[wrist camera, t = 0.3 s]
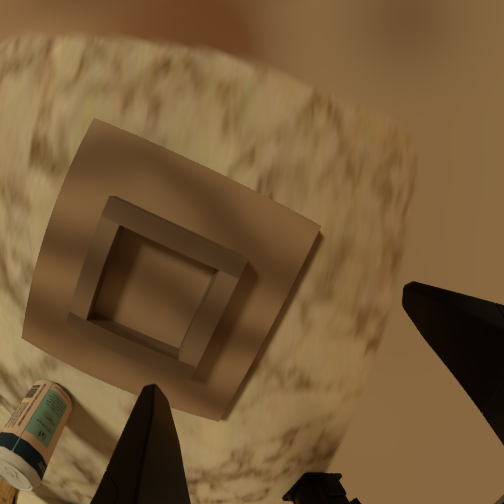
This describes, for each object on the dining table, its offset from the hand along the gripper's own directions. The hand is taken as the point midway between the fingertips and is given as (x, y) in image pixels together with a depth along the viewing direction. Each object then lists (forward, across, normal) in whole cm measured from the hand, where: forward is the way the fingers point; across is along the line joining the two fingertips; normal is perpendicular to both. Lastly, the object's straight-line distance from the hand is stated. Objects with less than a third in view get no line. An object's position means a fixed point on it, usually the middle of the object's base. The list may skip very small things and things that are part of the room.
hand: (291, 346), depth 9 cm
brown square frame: (+15, +6, +4) cm, 17 cm away
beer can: (+13, +22, +11) cm, 28 cm away
